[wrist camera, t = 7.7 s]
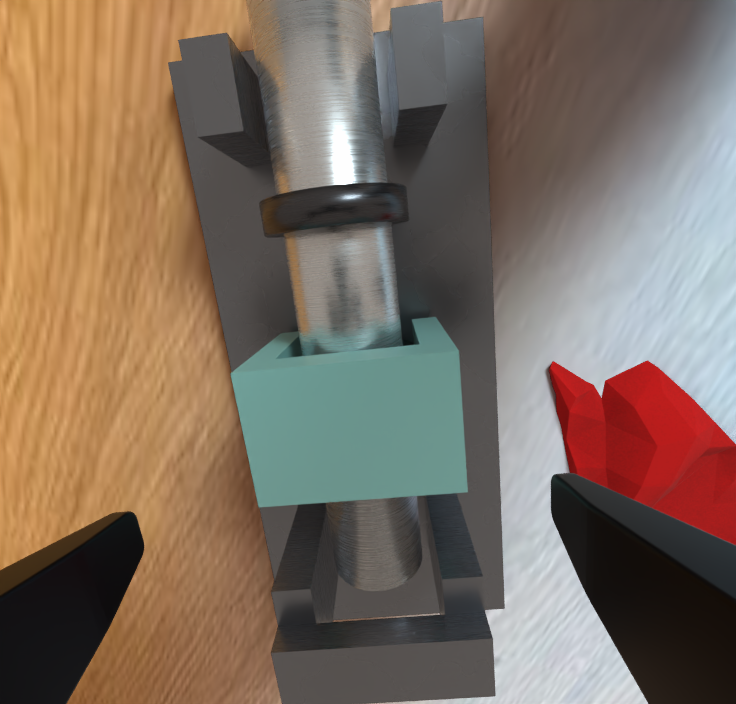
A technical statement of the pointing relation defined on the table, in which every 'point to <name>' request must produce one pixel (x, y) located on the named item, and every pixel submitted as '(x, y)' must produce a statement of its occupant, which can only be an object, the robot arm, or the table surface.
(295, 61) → the shaft
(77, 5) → the table surface
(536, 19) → the table surface
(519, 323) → the table surface
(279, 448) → the bracket
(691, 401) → the cloth
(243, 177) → the bearing stand
